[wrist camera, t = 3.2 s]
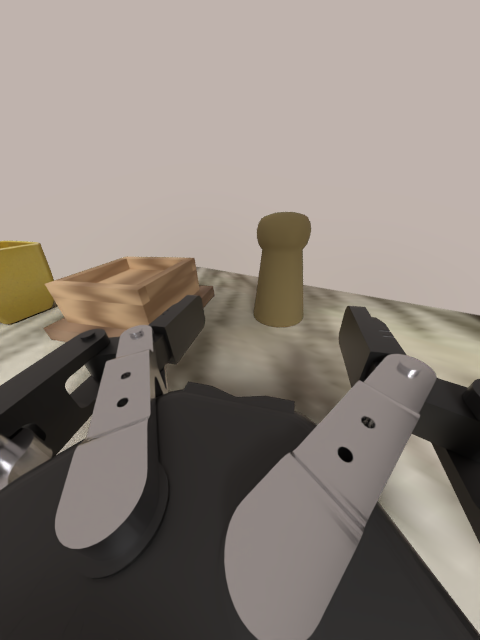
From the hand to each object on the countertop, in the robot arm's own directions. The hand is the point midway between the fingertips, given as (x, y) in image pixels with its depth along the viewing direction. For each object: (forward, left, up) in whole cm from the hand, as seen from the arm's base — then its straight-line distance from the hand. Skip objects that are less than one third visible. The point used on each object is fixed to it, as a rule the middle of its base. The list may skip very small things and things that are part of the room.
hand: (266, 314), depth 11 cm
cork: (0, -12, -7) cm, 13 cm away
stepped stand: (+17, -9, -7) cm, 20 cm away
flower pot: (+35, -6, -7) cm, 36 cm away
